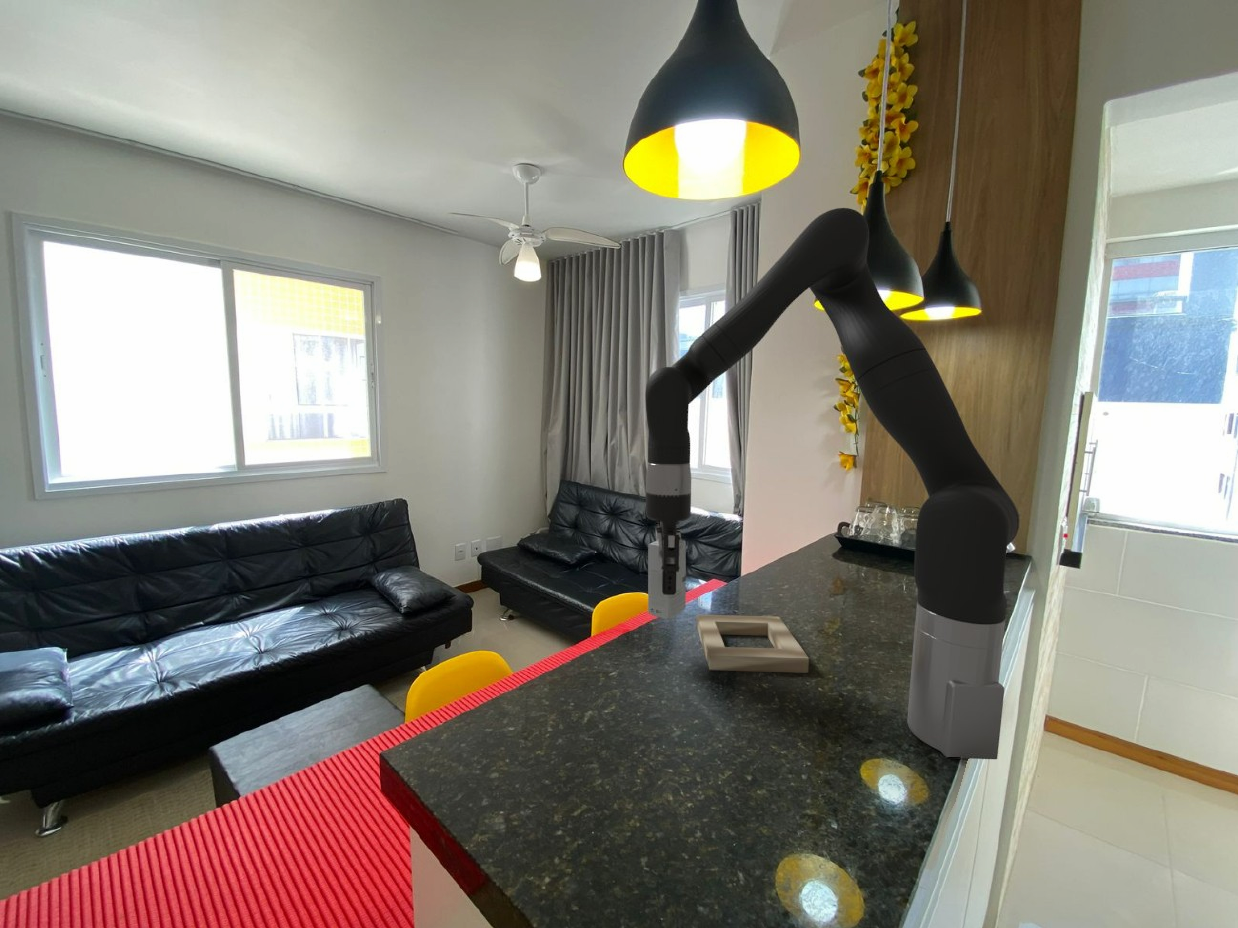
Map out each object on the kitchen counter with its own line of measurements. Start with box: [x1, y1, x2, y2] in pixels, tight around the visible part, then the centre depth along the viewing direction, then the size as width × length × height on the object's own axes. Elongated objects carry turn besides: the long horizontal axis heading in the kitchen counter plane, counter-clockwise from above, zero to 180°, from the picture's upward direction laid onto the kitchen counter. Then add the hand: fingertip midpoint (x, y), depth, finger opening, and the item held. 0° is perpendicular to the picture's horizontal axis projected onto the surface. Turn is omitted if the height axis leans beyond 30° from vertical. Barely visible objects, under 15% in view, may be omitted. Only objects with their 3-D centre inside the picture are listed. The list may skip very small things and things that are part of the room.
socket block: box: [696, 614, 810, 674], centre depth 86 cm, size 16×16×2 cm
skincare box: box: [647, 539, 687, 620], centre depth 81 cm, size 6×4×12 cm
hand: (667, 585), depth 81 cm, fingers closed on skincare box, 7 cm apart
